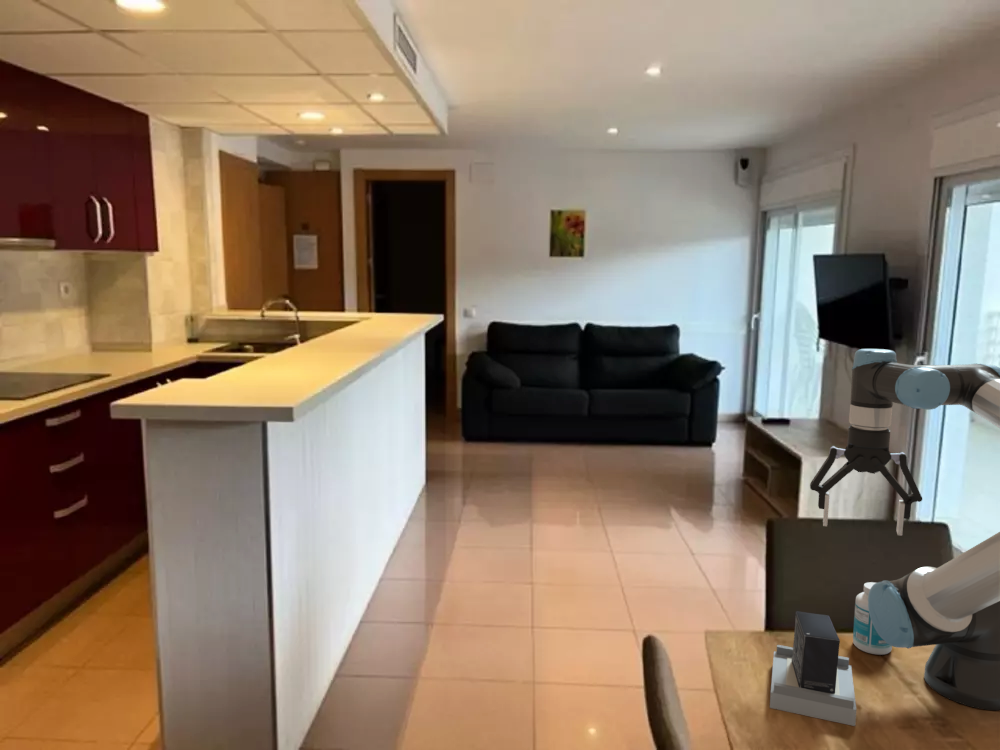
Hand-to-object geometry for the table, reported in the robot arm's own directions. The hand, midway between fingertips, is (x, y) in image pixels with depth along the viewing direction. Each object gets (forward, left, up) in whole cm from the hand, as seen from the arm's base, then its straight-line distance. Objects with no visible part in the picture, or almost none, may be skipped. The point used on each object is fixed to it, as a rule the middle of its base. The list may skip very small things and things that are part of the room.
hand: (861, 528), depth 149 cm
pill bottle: (-4, -4, -27) cm, 27 cm away
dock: (+8, +20, -27) cm, 34 cm away
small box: (+8, +20, -24) cm, 32 cm away
